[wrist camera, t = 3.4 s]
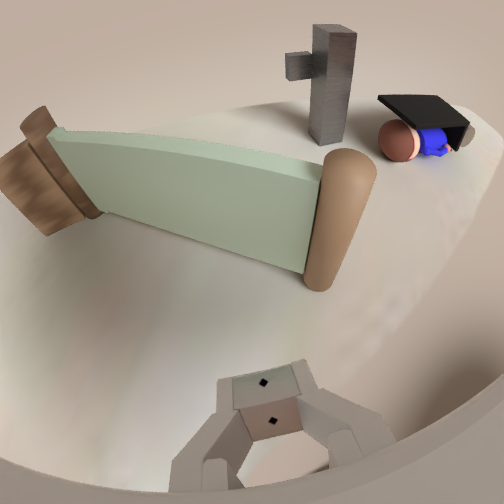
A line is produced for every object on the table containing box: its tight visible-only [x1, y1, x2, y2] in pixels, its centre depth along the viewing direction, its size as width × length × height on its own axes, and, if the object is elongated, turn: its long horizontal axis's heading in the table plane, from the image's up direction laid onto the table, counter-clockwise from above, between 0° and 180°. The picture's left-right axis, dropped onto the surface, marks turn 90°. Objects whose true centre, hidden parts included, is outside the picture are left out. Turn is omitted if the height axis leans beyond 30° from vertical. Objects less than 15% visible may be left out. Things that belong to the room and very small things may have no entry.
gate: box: [46, 127, 377, 292], centre depth 19 cm, size 24×2×12 cm, turn 68°
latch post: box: [285, 24, 357, 146], centre depth 24 cm, size 6×4×14 cm
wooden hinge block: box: [0, 106, 103, 236], centre depth 22 cm, size 10×3×14 cm, turn 108°
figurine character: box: [377, 95, 475, 162], centre depth 26 cm, size 7×8×15 cm
